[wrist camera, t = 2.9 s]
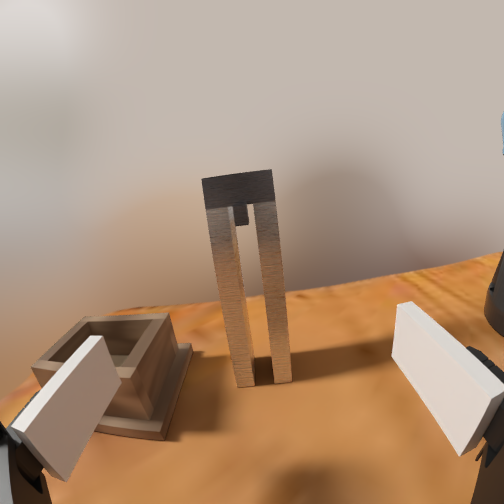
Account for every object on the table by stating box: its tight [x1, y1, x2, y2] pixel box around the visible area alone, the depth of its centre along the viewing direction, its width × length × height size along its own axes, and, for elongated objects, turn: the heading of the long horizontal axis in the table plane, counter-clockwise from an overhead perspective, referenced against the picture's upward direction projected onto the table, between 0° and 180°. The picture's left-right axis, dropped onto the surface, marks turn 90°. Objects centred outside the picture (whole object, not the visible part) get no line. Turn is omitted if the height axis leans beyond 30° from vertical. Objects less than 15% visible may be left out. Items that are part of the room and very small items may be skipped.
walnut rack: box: [31, 313, 193, 440], centre depth 21 cm, size 12×12×5 cm
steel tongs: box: [202, 170, 292, 387], centre depth 20 cm, size 4×6×16 cm
